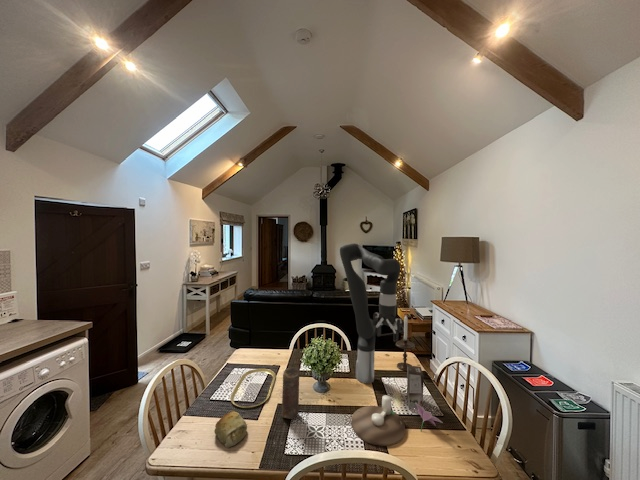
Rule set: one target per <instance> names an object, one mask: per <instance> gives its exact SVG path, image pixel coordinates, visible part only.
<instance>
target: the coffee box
mask: <svg viewBox="0 0 640 480" xmlns="http://www.w3.org/2000/svg"><path fill="white" fill-rule="evenodd" d="M406 372H407V373H406V374H407V377H406V379H407V380H406V400H407V404H408V405H409V406H408V408H409V409H412V408H415V409H417V410H418V408H417V405H416V404H415V403H417V404H419V405H420V406H421V407H422V408H423V409H424V406H423V405H424V377H425V375H424V372H423V369H422V367H421V366H420V365H419V366H418V365H412V366H408V369H407V371H406Z"/></svg>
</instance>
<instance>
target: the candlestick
mask: <svg viewBox="0 0 640 480" xmlns="http://www.w3.org/2000/svg"><path fill="white" fill-rule="evenodd" d="M407 312H408V310H407V309H406V311H405V315H404V318H403V319H404V320H403V338H401V340H397V341H395V346H396V347H398V348H399V349H402V350H403V354H402V357H403V358H402V360H403V362H398V363H397V364H396V368H397V369H398V370H399V371H402V372H407V369H408V366H413V365H412V364H411V363H408V362H407V361H408V354H407V350H413V349H415V348H416V345H415V343H414V342H412V341H410V340H409V339H408V323H409V321H408V316H407Z"/></svg>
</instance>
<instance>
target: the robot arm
mask: <svg viewBox="0 0 640 480" xmlns="http://www.w3.org/2000/svg"><path fill="white" fill-rule="evenodd" d="M339 255H340V258H341V262H342V263H341V264H342V266H343V269H344V273H345V276H346V280H347V281H346V282H347V286H348V291H349V296H350V300H351V303H352V307H353V308H352V309H353V311H354V315H355V324H356V332H357V335H358V338H357V356H356V357H357V360H355V378H356V380H357V381H358V382H360V383H362V384H371V383H374V381H375V354H376V353H375V349H376V347H375V346H376V336H377V337H380V336H382V326H387V327H390V329H391V330H392V332H393V333H392V334H393V336H392V338H393V342H397V341H399V334H400V333H402V332H404V323H403V318H397V316H396V315H397V284H398V280H399V277H400V272H401V263H400V262H399V260H398V259H396V258H387V259H385V257H383V256H381V255H379V254H376V253H373V252H370V251H369V250H367V249H366V248H364V247H363V246H362V245H360V244H358V243H350V244H345V245H341V246H340V248H339ZM357 260H362V263H363V264H364V265H365V266H367V267H368V268H371V269H373V270H374V271H375V272H376V273H377V274H379V275H381V276H386V278H384V279H383V280H381V281H380V284H379V300H378V311H379V312H378V311H377V312H374V313H373V315H372V318H370V314H369V306H368V305H369V303H368V301H369V298H368V290H367V287H366V283H365V281H364V280H363V279H362V278H361V276H360V275H359V274H358V273H357V272H356V271H355V270H354V267H353V264H352V262H353V261H357Z"/></svg>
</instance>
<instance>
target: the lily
mask: <svg viewBox="0 0 640 480" xmlns="http://www.w3.org/2000/svg"><path fill="white" fill-rule="evenodd" d="M415 404H416V405H417V408H418V409H414V408H411V410H413V411H415V412H416V413H418V414H419V415H420V418H421V419H422V424H421V428H420V432H422V431H423V424H424V422H426V421H428V422H430V423H431V424H432V425H433V426H434V427H437V425H436V423H435V422H438V423H441V424H444V423H443V421H442V420H440V419H439V418H438V417H436V416H434V415H432V412H430V411H427V410H425V409H424V407H423V408H422V407H421V406H420V405H419V404H417V403H415Z"/></svg>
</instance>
